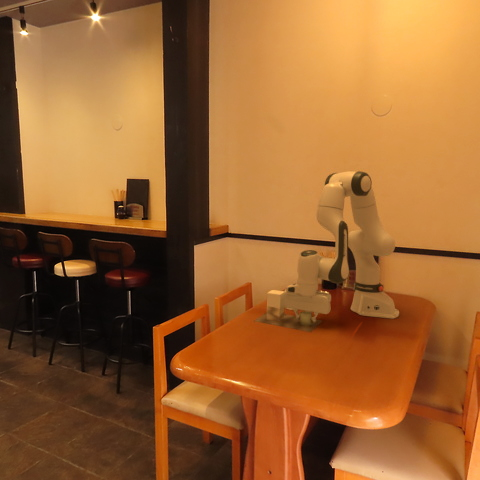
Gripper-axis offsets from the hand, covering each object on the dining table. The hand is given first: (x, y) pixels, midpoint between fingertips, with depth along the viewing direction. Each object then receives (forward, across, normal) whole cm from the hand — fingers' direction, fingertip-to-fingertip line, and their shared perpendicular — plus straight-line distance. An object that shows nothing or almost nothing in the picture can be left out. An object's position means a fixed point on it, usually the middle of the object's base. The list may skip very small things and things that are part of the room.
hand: (305, 320), depth 178 cm
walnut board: (+3, +8, 0) cm, 9 cm away
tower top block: (-4, +14, 0) cm, 15 cm away
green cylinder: (+2, 0, 0) cm, 2 cm away
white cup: (+3, +13, -19) cm, 23 cm away
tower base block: (+2, +14, 0) cm, 14 cm away
